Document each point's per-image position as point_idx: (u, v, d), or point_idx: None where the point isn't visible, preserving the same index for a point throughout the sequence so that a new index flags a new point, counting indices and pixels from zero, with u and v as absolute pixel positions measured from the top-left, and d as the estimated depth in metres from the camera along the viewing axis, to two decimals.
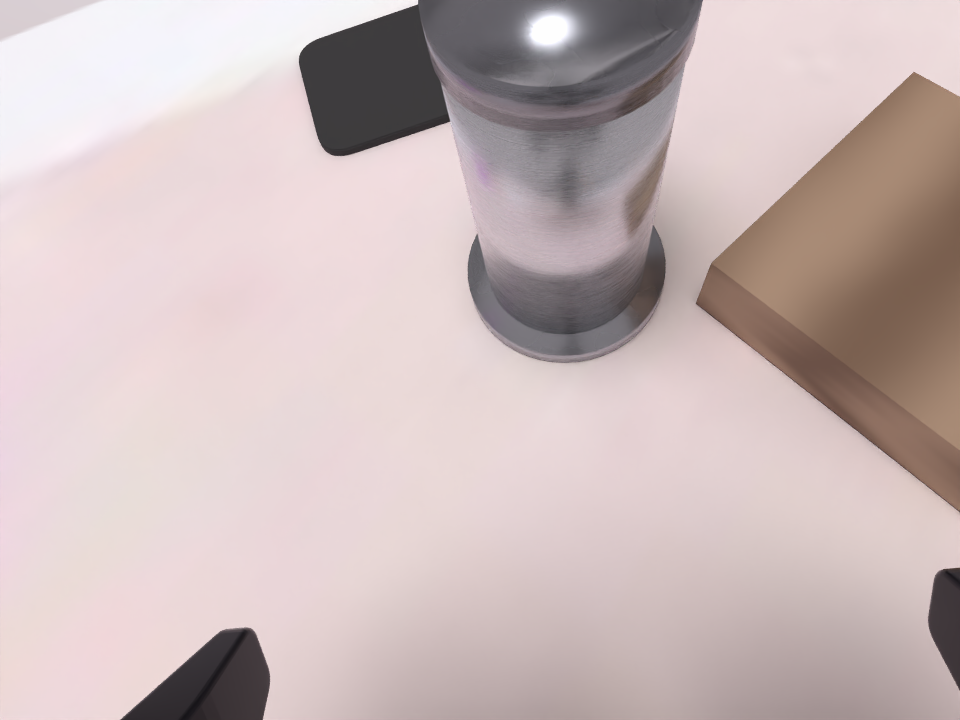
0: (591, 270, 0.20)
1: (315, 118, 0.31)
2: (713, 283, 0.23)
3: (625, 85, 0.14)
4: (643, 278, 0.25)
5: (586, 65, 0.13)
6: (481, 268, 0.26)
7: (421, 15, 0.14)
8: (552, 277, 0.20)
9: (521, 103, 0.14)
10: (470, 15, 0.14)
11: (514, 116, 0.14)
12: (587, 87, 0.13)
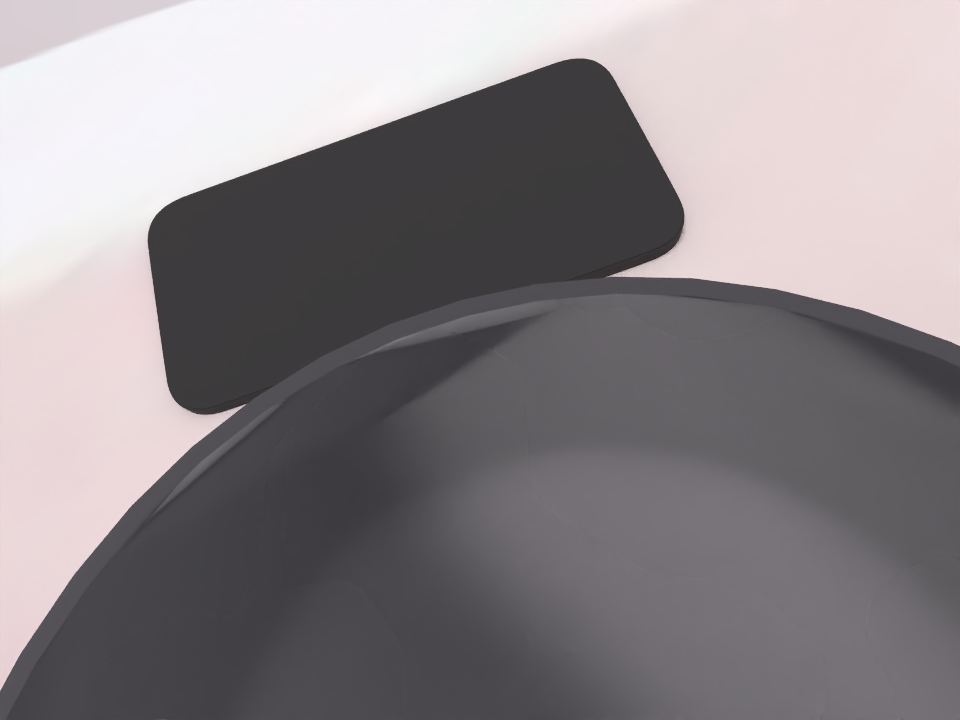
0: None
1: (165, 345, 0.19)
2: None
3: None
4: None
5: None
6: None
7: None
8: None
9: None
10: None
11: None
12: None
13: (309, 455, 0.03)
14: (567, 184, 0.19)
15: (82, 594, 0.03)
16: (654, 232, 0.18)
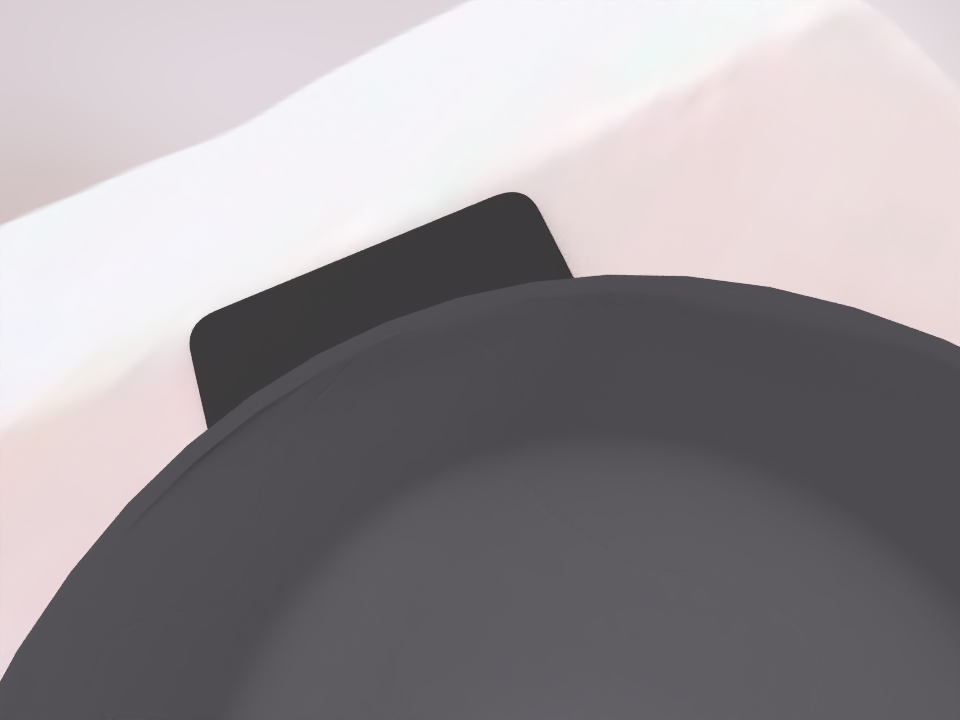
0: None
1: None
2: None
3: None
4: None
5: None
6: None
7: None
8: None
9: None
10: None
11: None
12: None
13: (306, 450, 0.03)
14: None
15: (78, 591, 0.03)
16: None
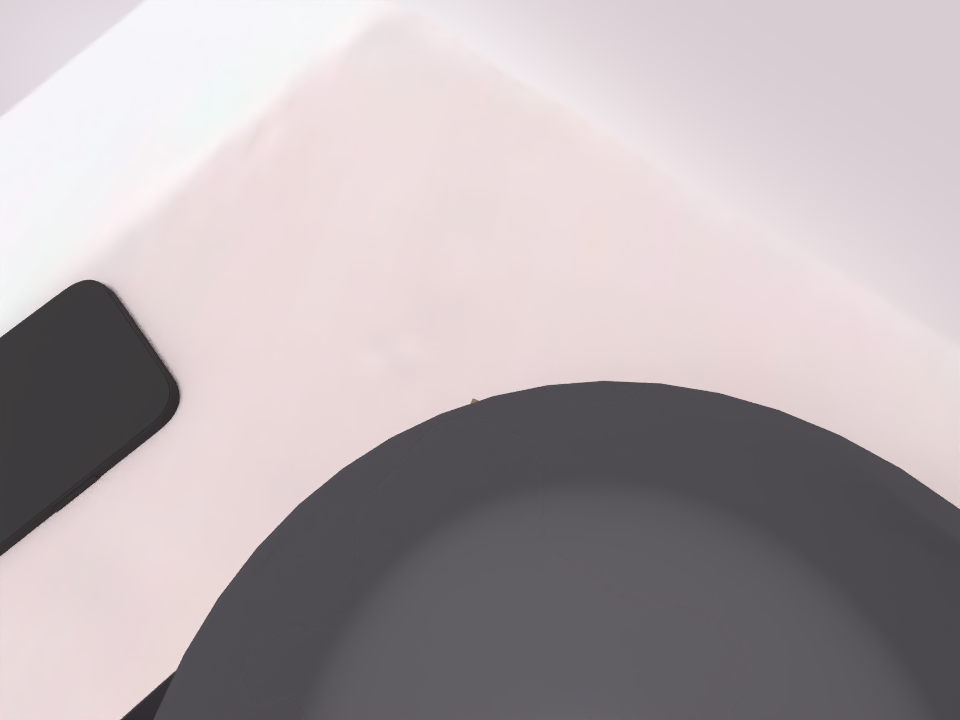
0: None
1: None
2: None
3: None
4: None
5: None
6: None
7: None
8: None
9: None
10: None
11: None
12: None
13: (387, 510, 0.05)
14: (83, 391, 0.23)
15: (225, 612, 0.05)
16: (150, 409, 0.23)
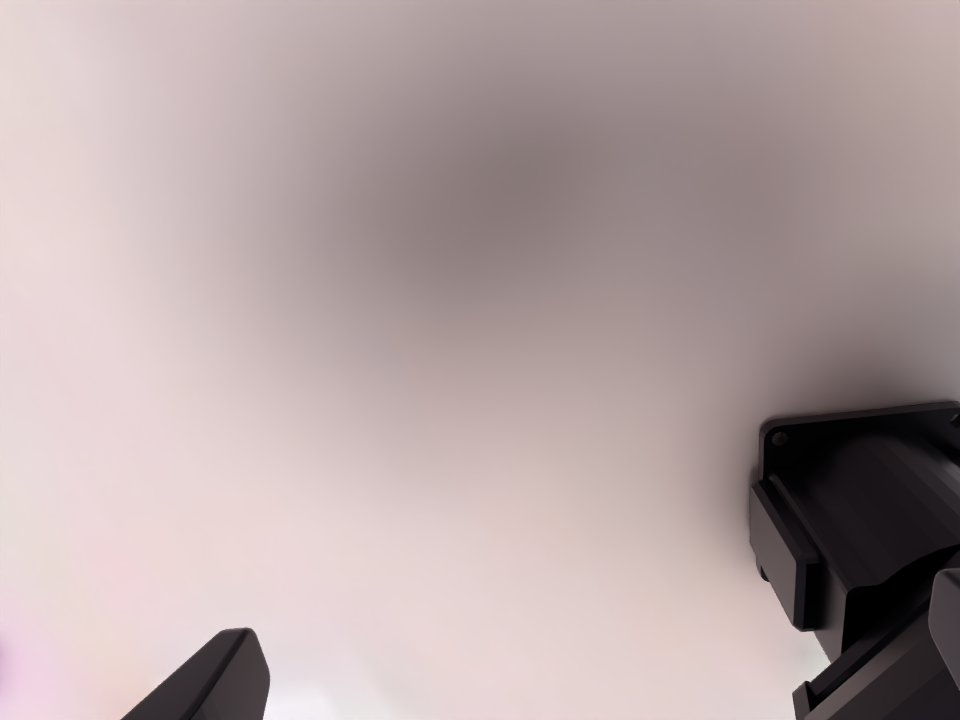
0: None
1: None
2: None
3: None
4: None
5: None
6: None
7: None
8: None
9: None
10: None
11: None
12: None
13: None
14: None
15: None
16: None
